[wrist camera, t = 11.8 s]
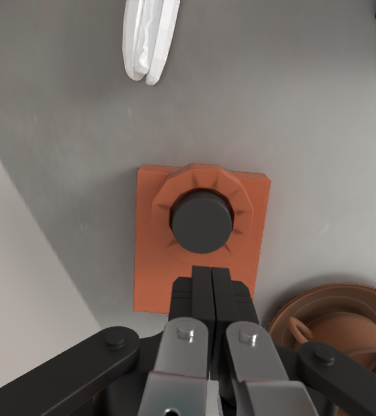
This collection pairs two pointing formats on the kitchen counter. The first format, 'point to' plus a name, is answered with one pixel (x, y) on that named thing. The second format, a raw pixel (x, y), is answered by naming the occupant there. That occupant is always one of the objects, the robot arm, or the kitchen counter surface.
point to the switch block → (167, 244)
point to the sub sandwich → (148, 37)
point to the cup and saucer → (331, 321)
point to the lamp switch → (201, 222)
